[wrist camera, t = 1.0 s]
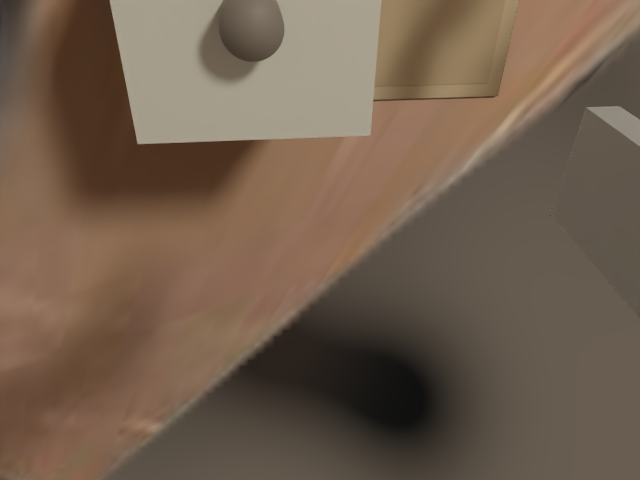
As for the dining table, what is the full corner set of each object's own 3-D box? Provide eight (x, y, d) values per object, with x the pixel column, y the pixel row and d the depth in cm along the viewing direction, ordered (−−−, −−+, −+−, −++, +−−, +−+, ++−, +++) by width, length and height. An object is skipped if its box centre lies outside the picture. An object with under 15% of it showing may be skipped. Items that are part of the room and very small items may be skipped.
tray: (350, 99, 38) (351, 100, 38) (360, -79, 32) (361, -79, 32) (496, 94, 40) (497, 96, 40) (535, -77, 33) (536, -77, 33)
